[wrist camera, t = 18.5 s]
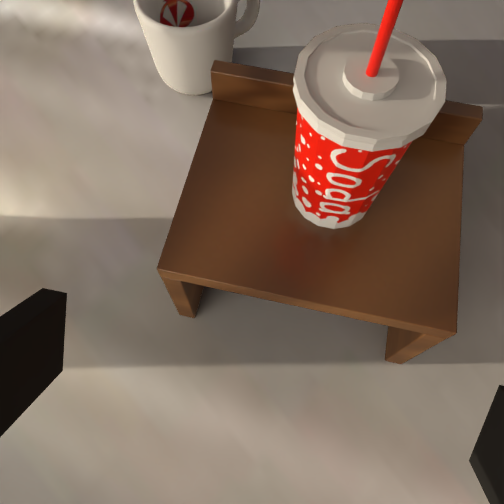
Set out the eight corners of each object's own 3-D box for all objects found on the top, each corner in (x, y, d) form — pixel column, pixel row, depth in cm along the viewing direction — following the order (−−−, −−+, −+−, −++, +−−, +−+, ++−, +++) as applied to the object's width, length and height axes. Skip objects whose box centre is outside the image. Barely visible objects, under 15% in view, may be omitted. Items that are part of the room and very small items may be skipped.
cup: (233, 19, 45) (230, -66, 37) (280, 69, 42) (287, -11, 35) (136, 64, 42) (113, -17, 35) (181, 121, 40) (166, 46, 32)
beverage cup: (262, 217, 26) (279, -16, 13) (301, 137, 28) (347, -129, 15) (365, 257, 25) (494, 49, 12) (396, 171, 27) (533, -82, 14)
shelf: (179, 315, 33) (147, 250, 22) (222, 167, 38) (214, 58, 27) (401, 364, 31) (479, 321, 21) (415, 204, 36) (483, 106, 26)
